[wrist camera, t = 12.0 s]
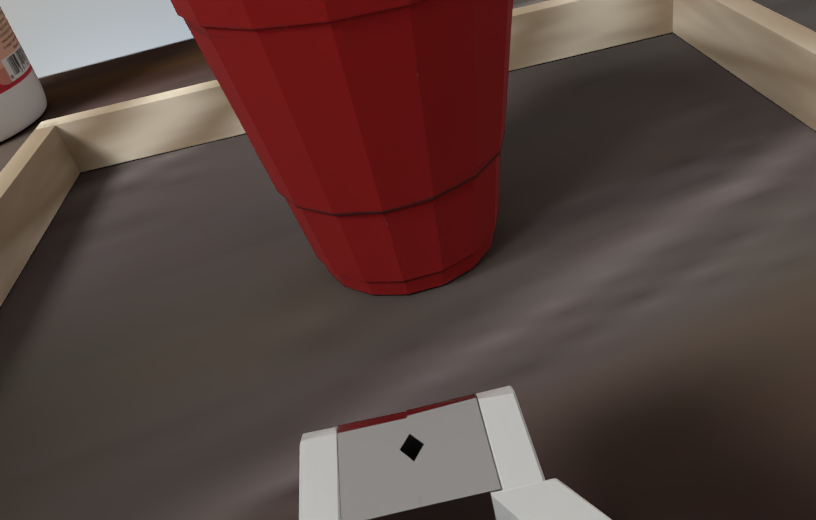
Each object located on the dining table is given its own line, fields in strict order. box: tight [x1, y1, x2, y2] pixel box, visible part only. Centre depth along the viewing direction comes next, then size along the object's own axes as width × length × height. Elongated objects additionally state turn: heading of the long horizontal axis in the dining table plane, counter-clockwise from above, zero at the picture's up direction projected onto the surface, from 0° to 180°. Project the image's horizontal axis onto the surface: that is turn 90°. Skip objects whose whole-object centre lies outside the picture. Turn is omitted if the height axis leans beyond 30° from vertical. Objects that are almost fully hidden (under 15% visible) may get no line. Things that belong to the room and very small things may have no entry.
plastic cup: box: [171, 0, 513, 295], centre depth 20 cm, size 11×11×12 cm
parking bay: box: [0, 0, 816, 307], centre depth 26 cm, size 31×18×2 cm, turn 97°
